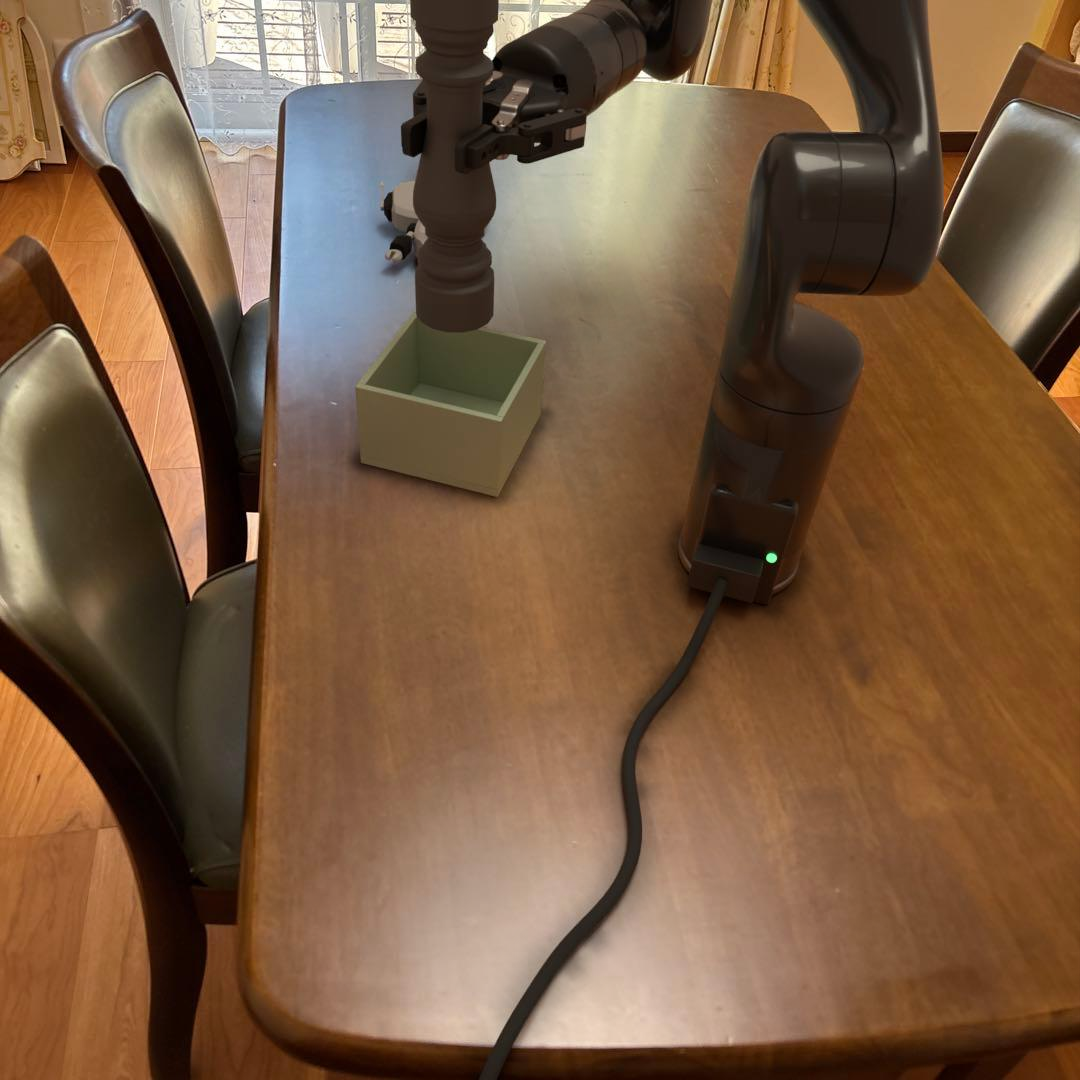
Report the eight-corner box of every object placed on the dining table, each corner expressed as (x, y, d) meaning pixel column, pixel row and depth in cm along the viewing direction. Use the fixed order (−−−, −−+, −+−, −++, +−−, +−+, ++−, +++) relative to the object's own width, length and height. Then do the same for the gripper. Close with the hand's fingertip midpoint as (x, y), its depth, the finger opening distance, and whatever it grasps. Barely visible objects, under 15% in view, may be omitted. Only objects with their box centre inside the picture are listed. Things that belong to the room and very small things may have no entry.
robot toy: (496, 284, 110) (487, 210, 120) (497, 247, 107) (488, 174, 117) (381, 284, 109) (381, 209, 119) (379, 246, 106) (380, 173, 115)
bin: (497, 497, 84) (501, 421, 79) (360, 463, 86) (354, 386, 81) (540, 414, 93) (546, 340, 87) (415, 384, 95) (413, 311, 89)
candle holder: (509, 317, 81) (524, -32, 63) (444, 341, 78) (440, -18, 60) (464, 283, 84) (467, -58, 67) (400, 304, 81) (385, -46, 64)
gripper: (481, 5, 80) (344, 68, 69) (643, 47, 75) (524, 122, 64) (479, 102, 85) (352, 175, 74) (631, 147, 81) (519, 232, 70)
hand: (433, 150), depth 69 cm, fingers closed on candle holder, 3 cm apart
